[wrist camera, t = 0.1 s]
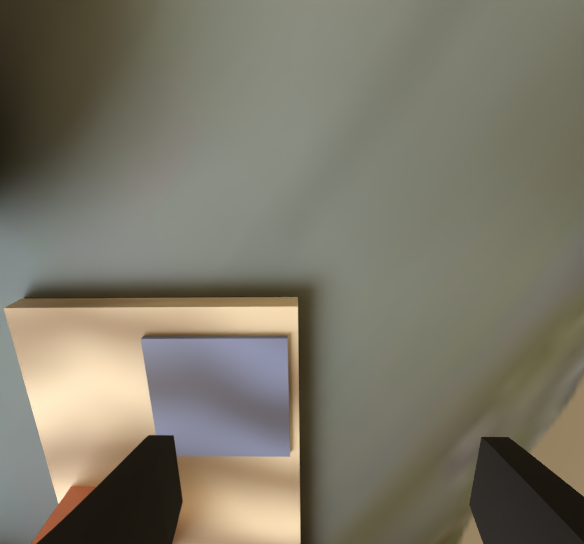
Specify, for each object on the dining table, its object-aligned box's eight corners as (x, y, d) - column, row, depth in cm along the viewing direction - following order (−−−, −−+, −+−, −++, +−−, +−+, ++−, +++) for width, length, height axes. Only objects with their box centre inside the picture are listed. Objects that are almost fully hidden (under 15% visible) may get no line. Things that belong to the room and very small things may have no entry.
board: (300, 565, 24) (301, 639, 20) (91, 563, 24) (54, 634, 21) (298, 296, 18) (297, 332, 14) (22, 298, 18) (-46, 333, 15)
